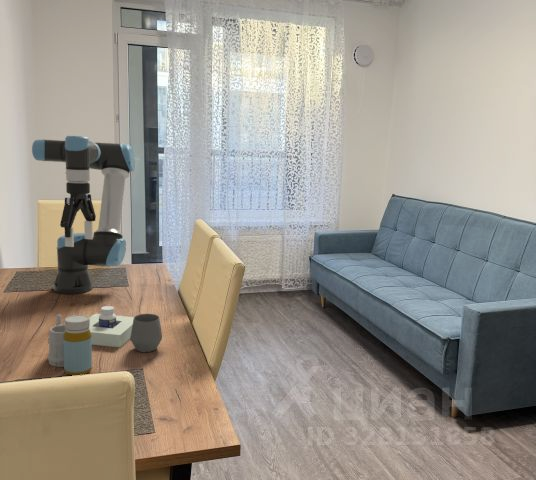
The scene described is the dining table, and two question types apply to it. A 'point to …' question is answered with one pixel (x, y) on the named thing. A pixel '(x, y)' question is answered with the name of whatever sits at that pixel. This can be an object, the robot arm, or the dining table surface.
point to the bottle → (77, 345)
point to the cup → (146, 332)
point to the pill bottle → (107, 317)
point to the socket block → (111, 331)
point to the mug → (56, 344)
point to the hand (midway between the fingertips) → (79, 242)
